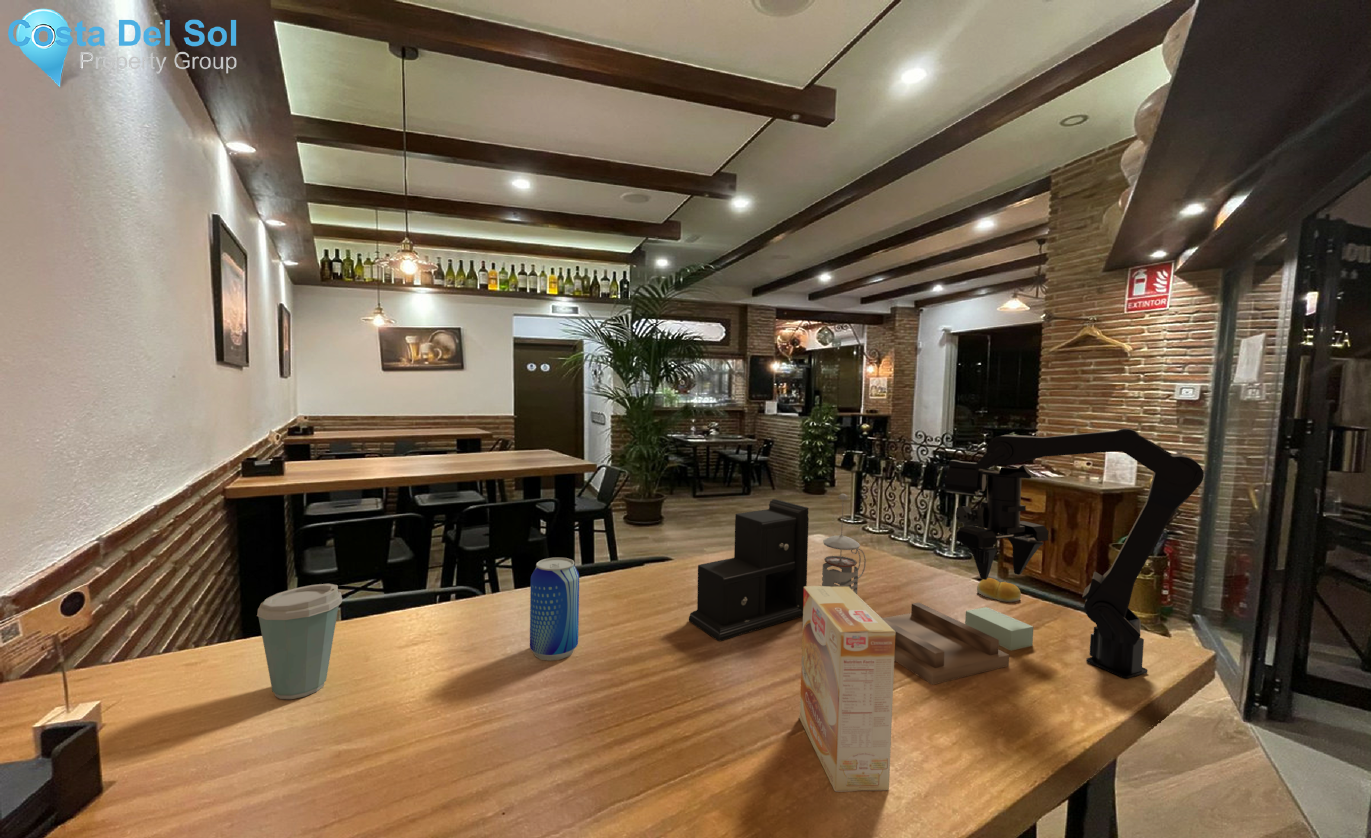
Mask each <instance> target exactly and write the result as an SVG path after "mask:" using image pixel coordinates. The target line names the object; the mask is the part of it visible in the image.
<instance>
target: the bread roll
mask: <svg viewBox="0 0 1371 838" xmlns="http://www.w3.org/2000/svg"><path fill="white" fill-rule="evenodd" d="M976 592H977V593H978V594H979V595H980V594H981V596H982V595H983V596H982V597H984V596H985V597H984V598H988V599H992V600H997V601H1000V602H1004V603H1005V602H1006V603H1013V602H1018V601H1020V600H1021V598H1022V597H1021V596H1022V593H1021V590H1020V588H1019V587H1018V586H1017V585H1015V584H1013V583H1010V582H1006V581H1001V582H1000V581H999V580H997V579H995V578H991V577H988V578H987V580H984V579H981V580H980V581H979V582H978V583H977V586H976Z"/></svg>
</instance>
